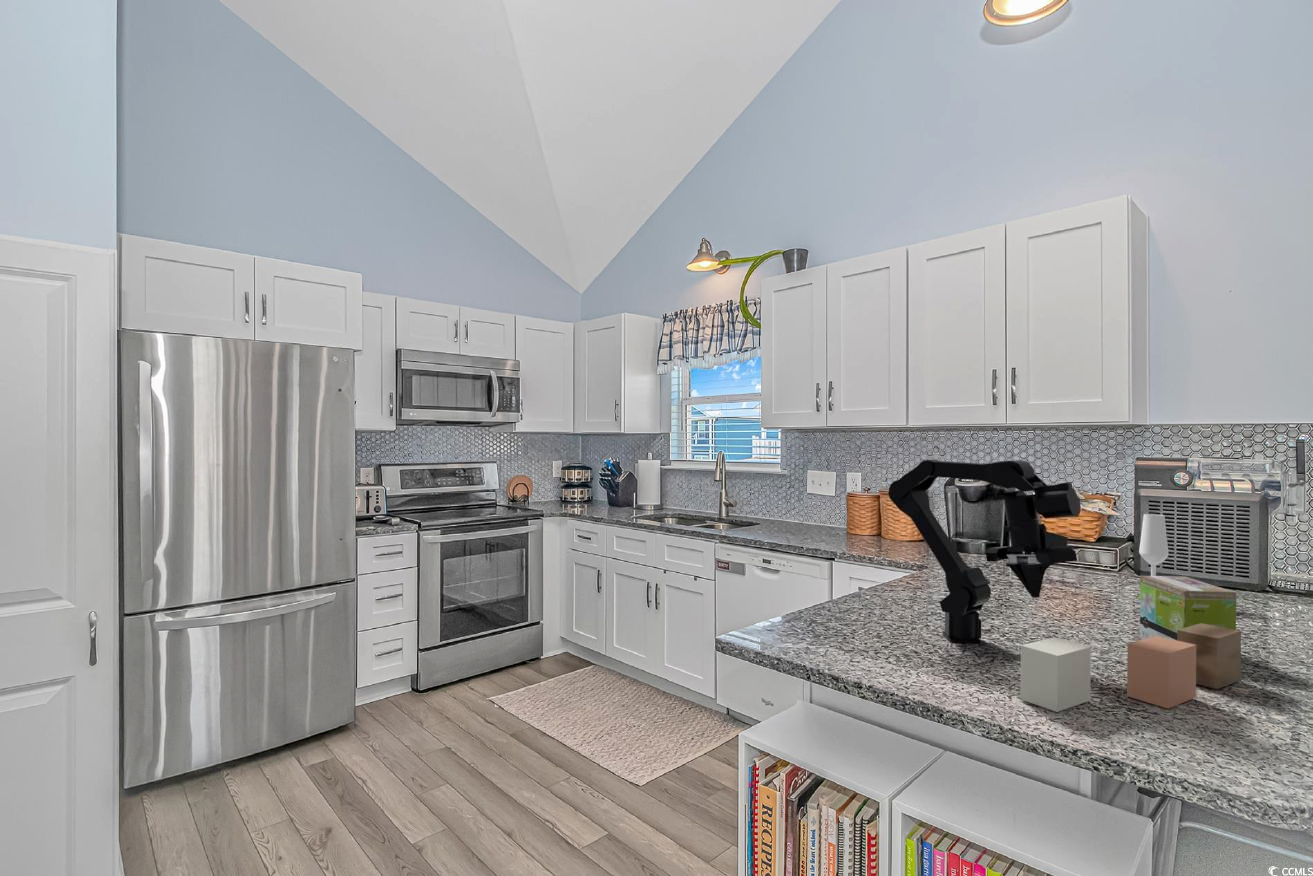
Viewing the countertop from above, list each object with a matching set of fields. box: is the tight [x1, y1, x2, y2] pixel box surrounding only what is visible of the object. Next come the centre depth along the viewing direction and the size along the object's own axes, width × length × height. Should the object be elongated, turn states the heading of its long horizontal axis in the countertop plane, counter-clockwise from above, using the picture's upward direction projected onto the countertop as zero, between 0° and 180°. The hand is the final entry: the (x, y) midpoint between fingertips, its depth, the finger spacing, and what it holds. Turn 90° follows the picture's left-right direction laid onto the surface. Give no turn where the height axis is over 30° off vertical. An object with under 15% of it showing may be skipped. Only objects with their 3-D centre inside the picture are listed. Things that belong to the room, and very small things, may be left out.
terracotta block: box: [1126, 636, 1197, 709], centre depth 112 cm, size 6×10×9 cm, turn 120°
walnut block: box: [1177, 623, 1242, 690], centre depth 121 cm, size 6×10×9 cm, turn 120°
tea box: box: [1139, 574, 1237, 640], centre depth 139 cm, size 15×10×15 cm, turn 174°
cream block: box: [1019, 637, 1092, 713], centre depth 110 cm, size 6×10×9 cm, turn 120°
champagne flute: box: [1138, 513, 1170, 576], centre depth 187 cm, size 7×7×24 cm
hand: (1035, 597), depth 133 cm, fingers closed
